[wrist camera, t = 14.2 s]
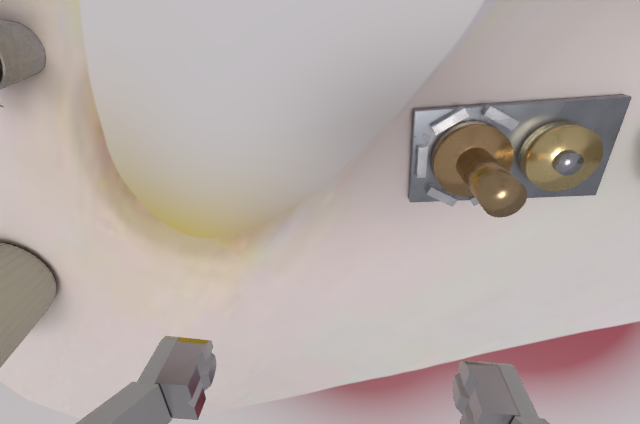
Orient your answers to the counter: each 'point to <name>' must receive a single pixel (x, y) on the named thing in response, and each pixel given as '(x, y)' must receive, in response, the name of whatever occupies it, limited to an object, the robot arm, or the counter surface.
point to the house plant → (19, 53)
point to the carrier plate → (528, 121)
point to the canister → (21, 296)
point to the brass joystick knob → (478, 167)
